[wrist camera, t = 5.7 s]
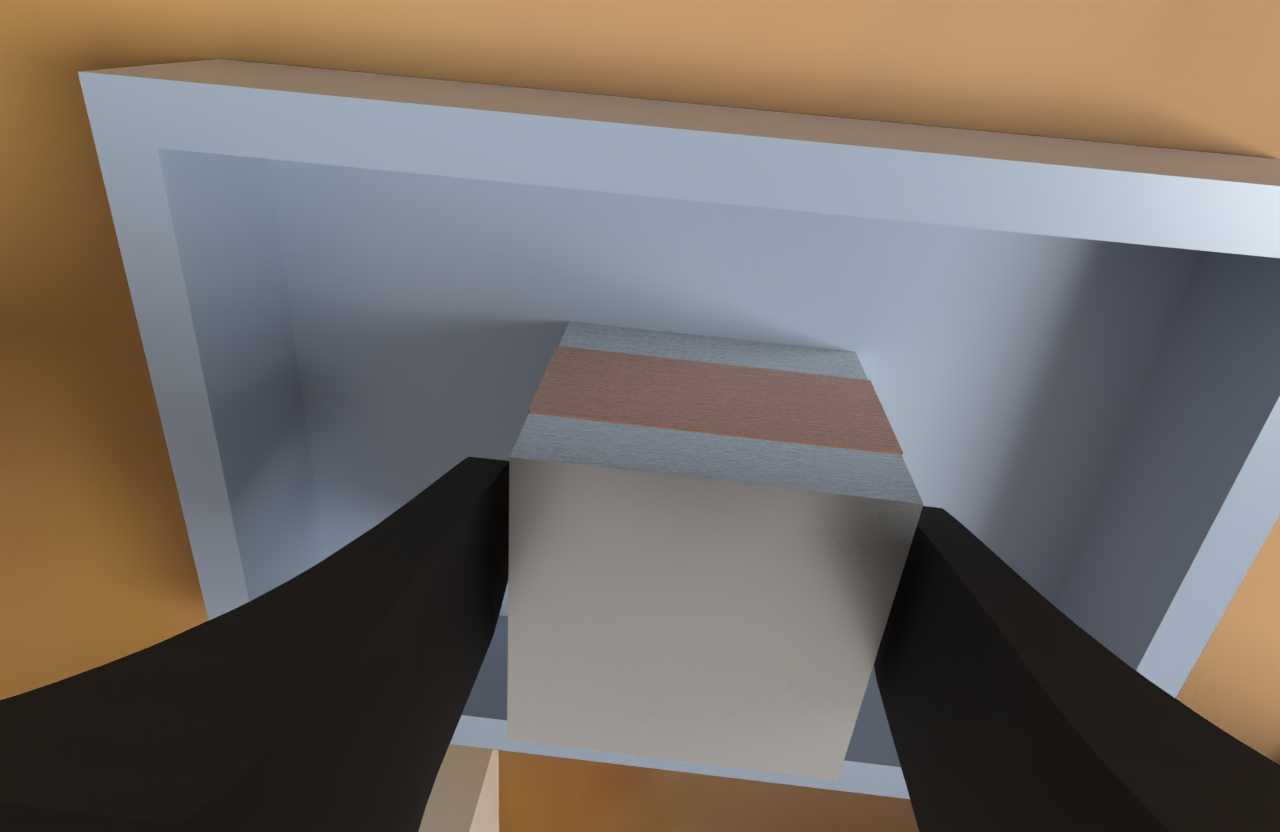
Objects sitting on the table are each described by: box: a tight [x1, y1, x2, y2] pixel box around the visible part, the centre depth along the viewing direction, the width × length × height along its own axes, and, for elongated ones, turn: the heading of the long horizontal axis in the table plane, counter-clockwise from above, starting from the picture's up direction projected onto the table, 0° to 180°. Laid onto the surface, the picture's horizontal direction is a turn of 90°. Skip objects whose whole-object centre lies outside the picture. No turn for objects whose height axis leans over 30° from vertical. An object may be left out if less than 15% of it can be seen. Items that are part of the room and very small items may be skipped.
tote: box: [78, 59, 1280, 799], centre depth 13 cm, size 16×11×3 cm
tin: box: [507, 321, 923, 781], centre depth 12 cm, size 5×5×4 cm
